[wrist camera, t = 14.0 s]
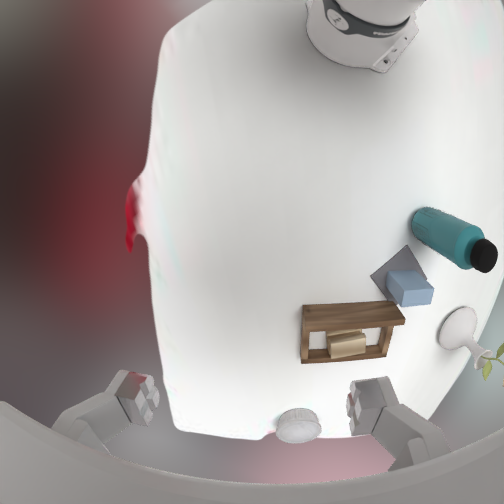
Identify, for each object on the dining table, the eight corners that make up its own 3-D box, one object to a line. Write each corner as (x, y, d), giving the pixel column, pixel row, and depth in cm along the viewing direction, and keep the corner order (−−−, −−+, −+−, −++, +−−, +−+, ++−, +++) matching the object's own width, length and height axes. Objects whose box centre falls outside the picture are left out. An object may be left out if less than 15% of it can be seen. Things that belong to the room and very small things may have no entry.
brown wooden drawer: (302, 304, 50) (305, 326, 43) (392, 300, 48) (405, 318, 41) (300, 354, 54) (302, 377, 47) (381, 348, 52) (391, 369, 45)
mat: (406, 244, 44) (407, 245, 44) (426, 278, 46) (427, 278, 46) (370, 275, 47) (370, 276, 46) (392, 306, 48) (393, 307, 48)
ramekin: (328, 410, 60) (330, 425, 55) (306, 431, 63) (306, 446, 58) (289, 401, 59) (289, 417, 54) (269, 423, 63) (268, 438, 58)
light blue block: (387, 271, 46) (404, 290, 38) (415, 269, 45) (434, 288, 38) (385, 286, 47) (401, 307, 39) (412, 284, 46) (430, 304, 39)
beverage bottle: (403, 235, 44) (465, 282, 25) (411, 199, 42) (481, 229, 23) (430, 242, 44) (494, 287, 25) (439, 208, 41) (510, 239, 23)
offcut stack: (326, 330, 51) (329, 344, 47) (360, 324, 50) (366, 337, 46) (326, 345, 53) (329, 359, 48) (360, 340, 52) (365, 353, 47)
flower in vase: (450, 350, 51) (494, 420, 28) (428, 334, 50) (477, 413, 26) (483, 310, 47) (539, 371, 23) (464, 289, 46) (530, 355, 22)
